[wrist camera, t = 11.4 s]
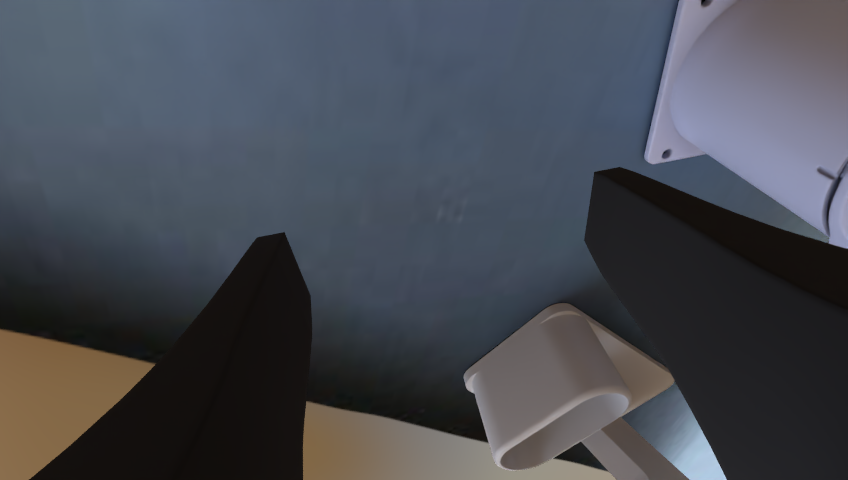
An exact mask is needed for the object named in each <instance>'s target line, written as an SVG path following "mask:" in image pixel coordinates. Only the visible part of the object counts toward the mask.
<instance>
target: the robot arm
mask: <svg viewBox="0 0 848 480" xmlns="http://www.w3.org/2000/svg"><path fill="white" fill-rule="evenodd" d="M665 150H667V151H666V153H664V154H663V152H664V151H665ZM662 154H663V155H662ZM704 154H708V155H709V156H711V157H712V158H714V159H715V160H717V161H718V162H720V163H721V164H722V165H724V166H725V167H727V168H728V169H730V170H731V171H733V172H734V173H736V174H737V175H739V176H740V177H742V178H743V179H744V180H746V181H747V182H749V183H750V184H752V185H753V186H755V187H756V188H758V189H759V190H761V191H762V192H764V193H765V194H767V195H768V196H769V197H771V198H772V199H774V200H775V201H777V202H778V203H780V204H781V205H783V206H784V207H786V208H787V209H789V210H790V211H792V212H793V213H794V214H796V215H797V216H799V217H800V218H802V219H803V220H805V221H806V222H808V223H809V224H811V225H812V226H814V227H815V228H816V229H818V230H819V231H821V232H822V233H824V234H825V235H827V236H828V237H830V239H829V242H828V243H825V242H822V241H818V240H815V239H812V238H808V237H805V236H801V235H798V234H795V233H792V232H788V231H785V230H782V229H779V228H776V227H773V226H770V225H768V224H765V223H762V222H759V221H756V220H754V219H751V218H748V217H745V216H743V215H740V214H737V213H734V212H732V211H729V210H727V209H724V208H721V207H719V206H716V205H714V204H711V203H709V202H706V201H704V200H702V199H699V198H697V197H694V196H692V195H689V194H687V193H685V192H682V191H680V190H677V189H675V188H673V187H670V186H668V185H665V184H663V183H661V182H658V181H656V180H653V179H651V178H648V177H646V176H643V175H641V174H638V173H636V172H633V171H630V170H627V169H624V168H621V167H618V168H613V169H608V170H602V171H597V172H594V179H593V185H592V192H591V199H590V206H589V212H588V219H587V226H586V233H585V239H584V241H585V243H586V245H587V247H588V249H589V251H590V253H591V255H592V257H593V259H594V261H595V263H596V265H597V266H598V268H599V270H600V272H601V274H602V275H603V277H604V278H605V280H606V281H607V283H608V284H609V286H610V287H611V288H612V290H613V291H614V293H615V294H616V295H617V297H618V298H619V300H620V301H621V303H622V304H623V305H624V307H625V308H626V309H627V311H628V312H629V314H630V315H631V316H632V318H633V319H634V320H635V322H636V323H637V325H638V326H639V327H640V329H641V330H642V332H643V333H644V334H645V336H646V337H647V339H648V340H649V341H650V343H651V344H652V345H653V347H654V348H655V350H656V351H657V353H658V354H659V356H660V357H661V359H662V360H663V362H664V363H665V365H666V366H667V368H668V370H669V372H670V373H671V375H672V377H673V379H674V380H675V382H676V384H677V386H678V387H679V389H680V391H681V393H682V394H683V396H684V398H685V400H686V401H687V403H688V405H689V407H690V409H691V410H692V412H693V414H694V416H695V418H696V420H697V422H698V424H699V425H700V427H701V429H702V431H703V433H704V435H705V437H706V439H707V440H708V442H709V444H710V446H711V448H712V450H713V452H714V454H715V456H716V458H717V460H718V462H719V464H720V466H721V468H722V470H723V472H724V475H725V477H726V479H727V480H848V0H705V1H704V2H703V4H701V0H679V3H678V7H677V12H676V16H675V21H674V25H673V30H672V34H671V38H670V43H669V47H668V52H667V56H666V61H665V65H664V70H663V74H662V79H661V83H660V87H659V92H658V96H657V101H656V105H655V110H654V114H653V119H652V123H651V127H650V132H649V136H648V141H647V145H646V150H645V154H644V158H645V160H646V161H647V162H649V163H650V164H658V163H663V162H668V161H673V160H678V159H683V158H689V157H694V156H699V155H704ZM311 342H312V316H311V296H310V294H309V291H308V289H307V286H306V284H305V281H304V279H303V276H302V274H301V272H300V269H299V267H298V264H297V262H296V259H295V257H294V255H293V252H292V250H291V247H290V245H289V242H288V240H287V238H286V235H285V233H284V232H283V233H278V234H273V235H268V236H263V237H258V238H256V240H255V241H254V242H253V243H252V245H251V246H250V247H249V249H248V250H247V252H246V253H245V254H244V256H243V257H242V258H241V260H240V261H239V263H238V264H237V265H236V267H235V268H234V270H233V271H232V272H231V274H230V275H229V276H228V278H227V279H226V280H225V282H224V283H223V284H222V286H221V287H220V288H219V290H218V291H217V292H216V294H215V295H214V296H213V298H212V299H211V300H210V302H209V303H208V304H207V305H206V307H205V308H204V309H203V310H202V311H201V313H200V314H199V315H198V316H197V318H196V319H195V320H194V321H193V322H192V324H191V325H190V326H189V327H188V328H187V330H186V331H185V332H184V333H183V334H182V336H181V337H180V338H179V339H178V340H177V342H176V343H175V344H174V345H173V346H172V347H171V348H170V350H169V351H168V352H167V353H166V354H165V355H164V356H163V357H162V358H161V359H160V360H159V362H158V363H157V364H156V365H155V366H154V367H153V368H152V369H151V370H150V371H149V372H148V373H147V374H146V375H145V376H144V377H143V378H142V379H141V380H140V381H139V382H138V383H137V384H136V385H135V386H134V387H133V388H132V389H131V390H130V391H129V392H128V393H127V394H126V395H125V396H124V397H123V398H122V399H121V400H120V401H119V402H118V403H117V404H116V405H114V406H113V407H112V408H111V409H110V410H109V411H108V412H107V413H106V414H105V415H103V416H102V417H101V418H100V419H99V420H98V421H97V422H96V423H95V424H93V425H92V426H91V427H90V428H89V429H88V430H87V431H86V432H85V433H84V434H82V435H81V436H80V437H79V438H78V439H77V440H76V441H75V442H74V443H73V444H71V446H69V447H68V448H67V449H66V450H64V451H63V452H62V453H61V454H60V455H58V456H57V457H56V458H55V459H54V460H52V461H51V462H50V463H49V464H48V465H46V466H45V467H44V468H43V469H42V470H40V471H39V472H38V473H37V474H36V475H34V476H33V477H32V478H31V479H29V480H303V431H304V418H305V408H306V397H307V386H308V376H309V365H310V354H311Z"/></svg>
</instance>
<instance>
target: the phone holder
mask: <svg viewBox="0 0 848 480" xmlns="http://www.w3.org/2000/svg"><path fill="white" fill-rule="evenodd" d="M464 381H465V384H466V388H467V389H468V390H469V391H470V392H472V393H475V397H476V400H477V404H478V407H479V411H480V414H481V418H482V421H483V424H484V428H485V431H486V435H487V438H488V442H489V445H490V449H491V452H492V456H493V459H494V461H495V463H496V464H497V465H498V466H499V467H501V468H503V469H506V470H525V469H529V468H533V467H536V466H539V465H541V464H544V463H545V462H547V461H549V460H551V459H552V458H554V457H556V456H557V455H559V454H561V453H562V452H564V451H566V450H567V449H569V448H570V447H572V446H574V445H575V444H577V443H579V442H580V441H581V442H582V443H583V444H584V445H585V446H586V447H587V448H588V449H589V450H590V451H591V453H592V454H593V455H594V456H595V457H596V458H597V459H598V460H599V461H600V462H601V463H602V464H603V466H604V467H605V468H606V469H607V470H608V471H609V472H610V473H611V474H612V475H613V476H614V477H615V478H616V480H689V479H688V478H687V477H686V476H685V475H684V474H683V473H681V472H680V471H679V470H678V469H677V468H676V467H675V466H674V465H673V464H672V463H670V462H669V461H668V460H667V459H666V458H665V457H664V456H663V455H662V454H661V453H659V452H658V451H657V450H656V449H655V448H654V447H653V446H652V445H651V444H649V443H648V442H647V441H646V440H645V439H644V438H643V437H642V436H641V435H640V434H638V433H637V432H636V431H635V430H634V429H633V428H632V427H631V426H630V425H629V424H627V423H626V422H625V421H624V420H623V419H622V418H621V416H623V415H625V414H626V413H628V412H630V411H631V410H633V409H634V408H636V407H638V406H639V405H641V404H643V403H644V402H646V401H648V400H649V399H651V398H653V397H654V396H656V395H657V394H659V393H661V392H662V391H664V390H666V389H667V388H669V387H670V386H671V385H672V384H673V382H674V379H673V377H672V375H671V373H670V372H669V370H668V368H666V367H665V366H663V365H662V364H660V363H659V362H657V361H656V360H654V359H653V358H651V357H650V356H648V355H647V354H645V353H644V352H642V351H641V350H639V349H638V348H636V347H635V346H633V345H632V344H630V343H629V342H627V341H626V340H624V339H622V338H621V337H619V336H618V335H616V334H615V333H613V332H612V331H610V330H609V329H607V328H606V327H604V326H603V325H601V324H600V323H598V322H597V321H595V320H594V319H592V318H591V317H589V316H588V315H586V314H585V313H583V312H582V311H580V310H579V309H577V308H576V307H574V306H573V305H571V304H568V303H558V304H554V305H551V306H549V307H547V308H546V309H544V310H543V311H542V312H540V313H539V314H538V315H537V316H535V317H534V318H533V319H531V320H530V321H529V322H528V323H526V324H525V325H524V326H522V327H521V328H520V329H519V330H517V331H516V332H515V333H514V334H512V335H511V336H510V337H508V338H507V339H506V340H505V341H503V342H502V343H501V344H500V345H498V346H497V347H496V348H494V349H493V350H492V351H491V352H489V353H488V354H487V355H485V356H484V357H483V358H482V359H480V360H479V361H478V362H477V363H475V364H474V365H473V366H471V367H470V368H469V369H468V370H467V371H466V372H465V374H464Z"/></svg>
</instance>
